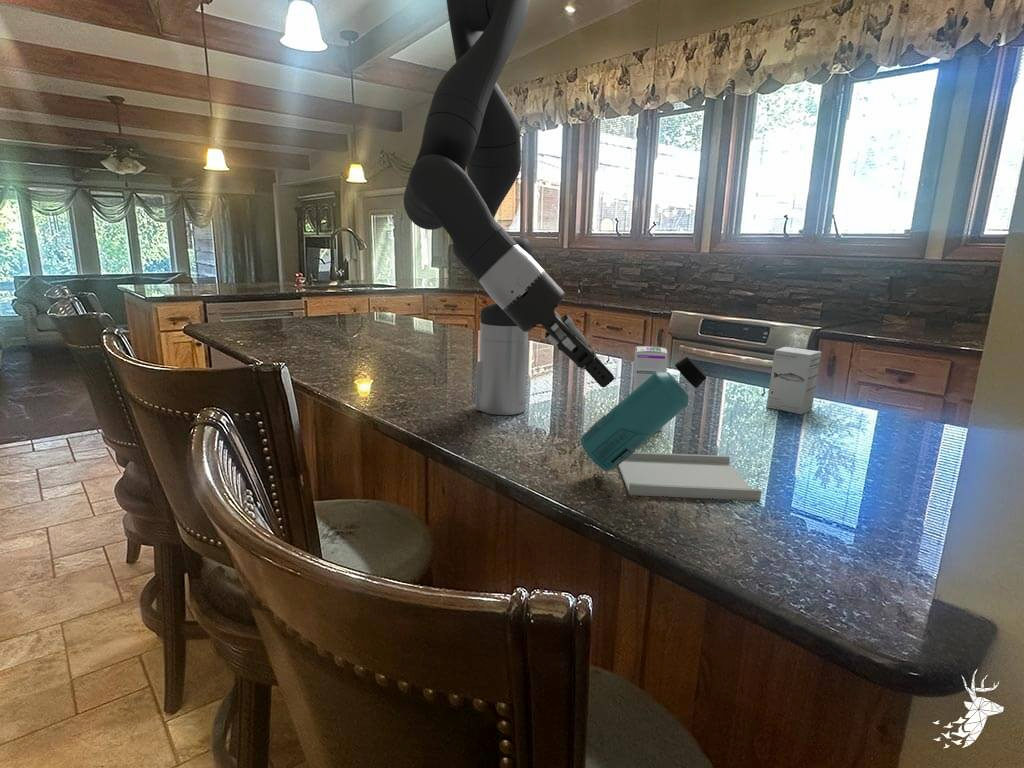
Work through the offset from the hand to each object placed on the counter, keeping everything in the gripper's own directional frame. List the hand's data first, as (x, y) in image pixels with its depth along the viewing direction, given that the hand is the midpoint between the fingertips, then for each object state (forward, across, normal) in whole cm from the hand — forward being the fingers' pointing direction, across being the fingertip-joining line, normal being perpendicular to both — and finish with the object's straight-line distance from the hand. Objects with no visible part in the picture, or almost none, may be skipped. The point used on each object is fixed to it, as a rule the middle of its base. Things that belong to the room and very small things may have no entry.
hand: (608, 382), depth 77 cm
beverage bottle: (+7, -1, -10) cm, 12 cm away
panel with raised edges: (+18, -1, -2) cm, 18 cm away
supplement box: (+41, -44, +21) cm, 64 cm away
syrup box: (+18, -26, -2) cm, 32 cm away
